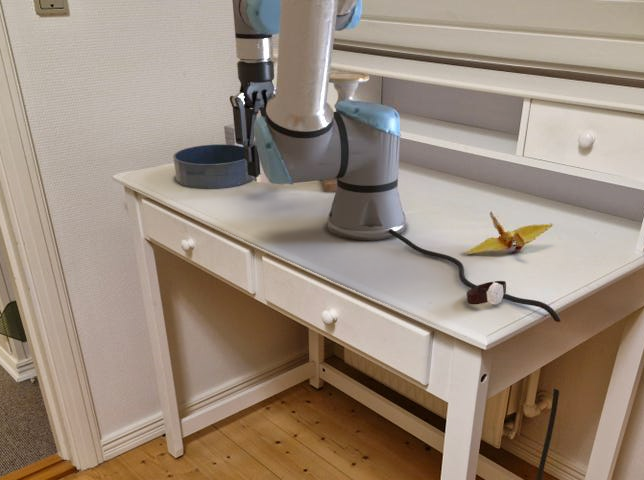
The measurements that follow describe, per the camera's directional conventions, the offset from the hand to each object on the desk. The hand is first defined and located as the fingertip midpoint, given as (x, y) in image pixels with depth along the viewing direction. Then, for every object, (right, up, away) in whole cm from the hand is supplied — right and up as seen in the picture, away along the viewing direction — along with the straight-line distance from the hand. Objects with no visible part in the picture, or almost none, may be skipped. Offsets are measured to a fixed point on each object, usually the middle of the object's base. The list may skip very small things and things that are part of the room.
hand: (262, 172), depth 150 cm
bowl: (-13, +3, +13) cm, 19 cm away
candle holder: (+19, -1, +7) cm, 20 cm away
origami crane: (+48, -22, -28) cm, 60 cm away
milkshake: (0, -2, +1) cm, 2 cm away
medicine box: (-8, +12, +28) cm, 31 cm away
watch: (+40, -33, -45) cm, 69 cm away
